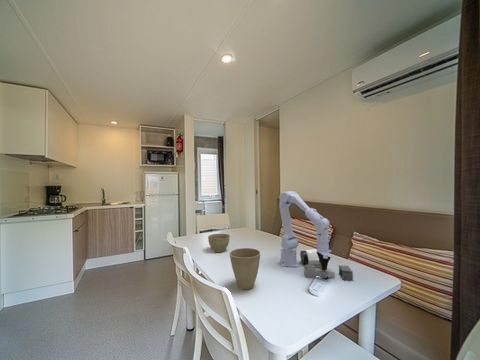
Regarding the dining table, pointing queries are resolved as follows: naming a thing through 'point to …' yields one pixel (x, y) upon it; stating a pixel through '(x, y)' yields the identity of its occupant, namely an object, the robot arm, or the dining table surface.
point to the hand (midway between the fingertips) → (323, 267)
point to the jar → (309, 257)
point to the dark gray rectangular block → (346, 273)
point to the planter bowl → (218, 242)
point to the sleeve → (313, 271)
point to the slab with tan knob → (330, 271)
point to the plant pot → (245, 266)
